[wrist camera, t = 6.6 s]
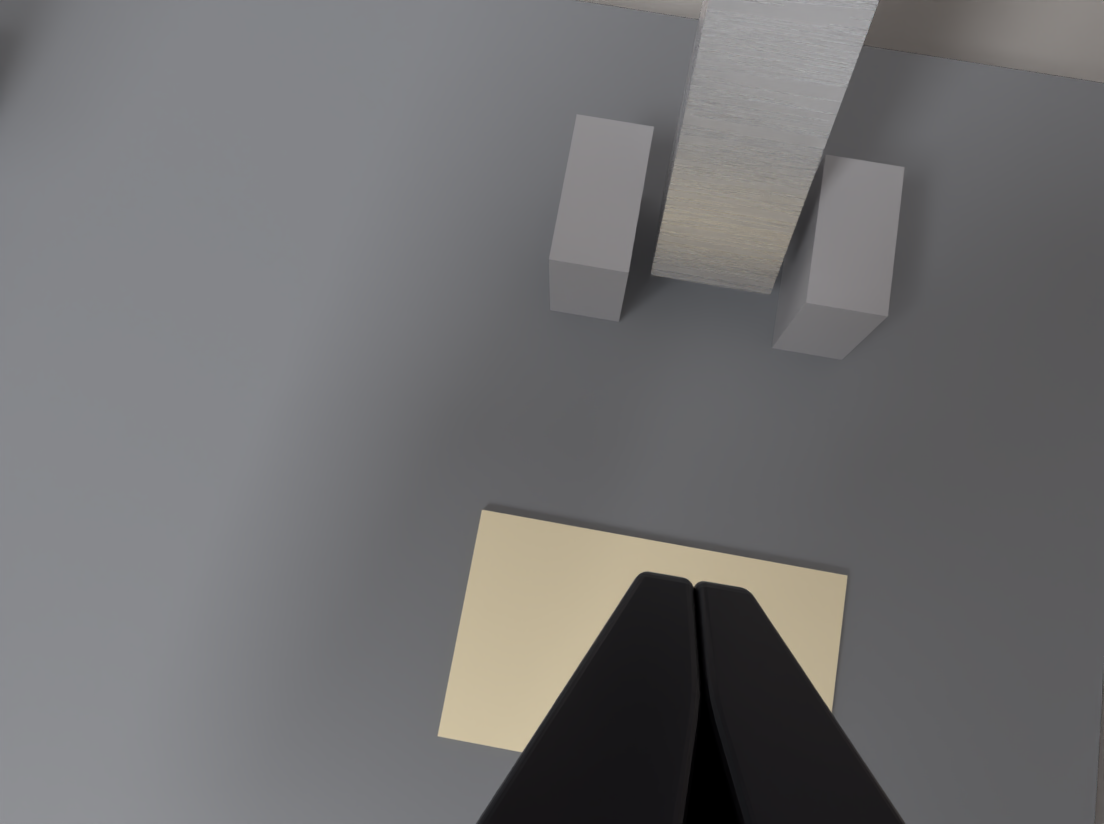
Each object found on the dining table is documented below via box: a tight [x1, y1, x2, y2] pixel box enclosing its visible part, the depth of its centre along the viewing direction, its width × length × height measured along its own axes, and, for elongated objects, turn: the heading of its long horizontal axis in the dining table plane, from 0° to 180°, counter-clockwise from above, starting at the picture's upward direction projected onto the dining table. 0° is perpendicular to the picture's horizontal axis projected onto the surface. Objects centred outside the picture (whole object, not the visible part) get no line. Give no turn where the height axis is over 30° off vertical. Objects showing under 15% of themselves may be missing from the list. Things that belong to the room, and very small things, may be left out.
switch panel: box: [0, 0, 1104, 824], centre depth 14 cm, size 16×26×4 cm, turn 80°
